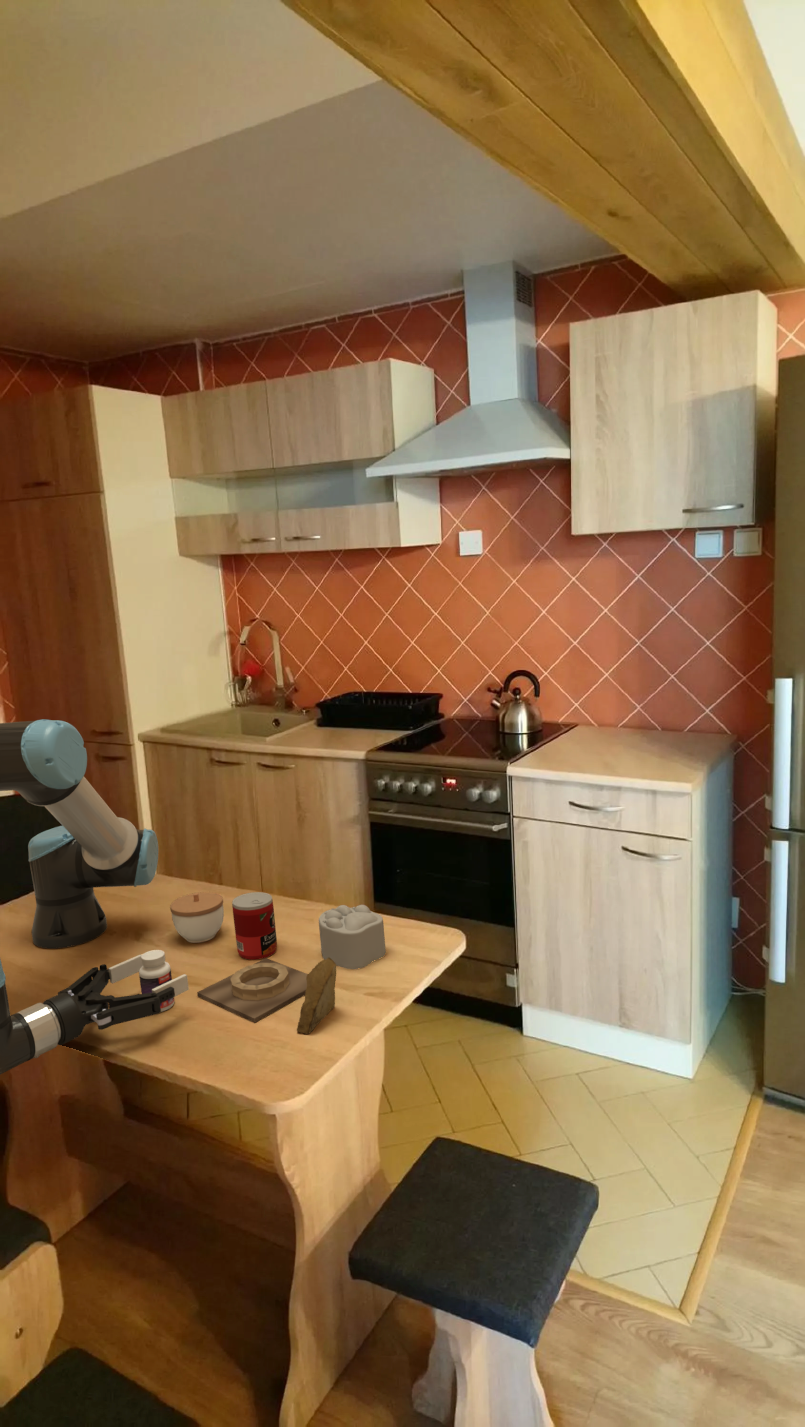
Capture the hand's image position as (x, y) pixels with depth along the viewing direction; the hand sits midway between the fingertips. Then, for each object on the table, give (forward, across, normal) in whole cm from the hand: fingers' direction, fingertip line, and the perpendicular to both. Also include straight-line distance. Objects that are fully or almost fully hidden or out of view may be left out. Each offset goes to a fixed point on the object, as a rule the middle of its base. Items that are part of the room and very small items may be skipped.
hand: (164, 971), depth 157 cm
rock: (+11, +26, -6) cm, 29 cm away
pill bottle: (-2, 0, -6) cm, 6 cm away
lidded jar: (+20, -18, -6) cm, 28 cm away
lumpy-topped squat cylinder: (+32, +14, -6) cm, 36 cm away
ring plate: (+12, +11, -6) cm, 17 cm away
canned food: (+22, -2, -6) cm, 23 cm away
